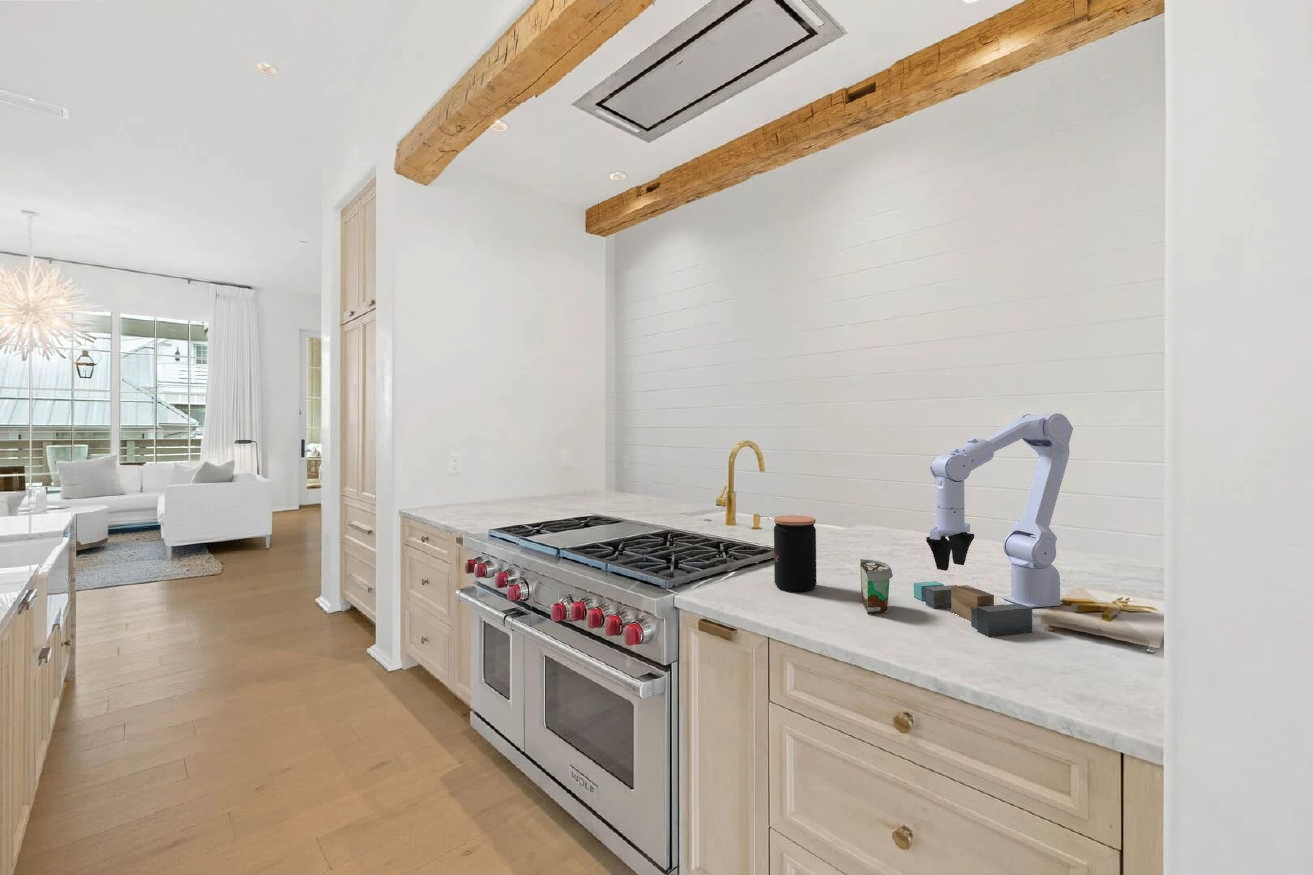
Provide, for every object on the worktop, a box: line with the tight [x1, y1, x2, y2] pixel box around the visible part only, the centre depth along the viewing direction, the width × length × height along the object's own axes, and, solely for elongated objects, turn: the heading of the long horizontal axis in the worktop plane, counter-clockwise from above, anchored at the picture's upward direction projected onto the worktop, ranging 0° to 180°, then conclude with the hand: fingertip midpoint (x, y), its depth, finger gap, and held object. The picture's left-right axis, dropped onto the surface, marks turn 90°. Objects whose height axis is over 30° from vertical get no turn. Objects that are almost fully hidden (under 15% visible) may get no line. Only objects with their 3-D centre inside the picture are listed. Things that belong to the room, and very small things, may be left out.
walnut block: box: [950, 584, 995, 622], centre depth 127 cm, size 4×8×6 cm, turn 11°
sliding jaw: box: [913, 580, 959, 609], centre depth 139 cm, size 8×9×4 cm
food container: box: [859, 559, 893, 615], centre depth 134 cm, size 12×6×10 cm, turn 168°
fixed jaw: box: [970, 603, 1033, 638], centre depth 119 cm, size 10×6×5 cm, turn 100°
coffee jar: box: [773, 514, 817, 593], centre depth 153 cm, size 11×11×18 cm
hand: (950, 567), depth 134 cm, fingers open, 7 cm apart
